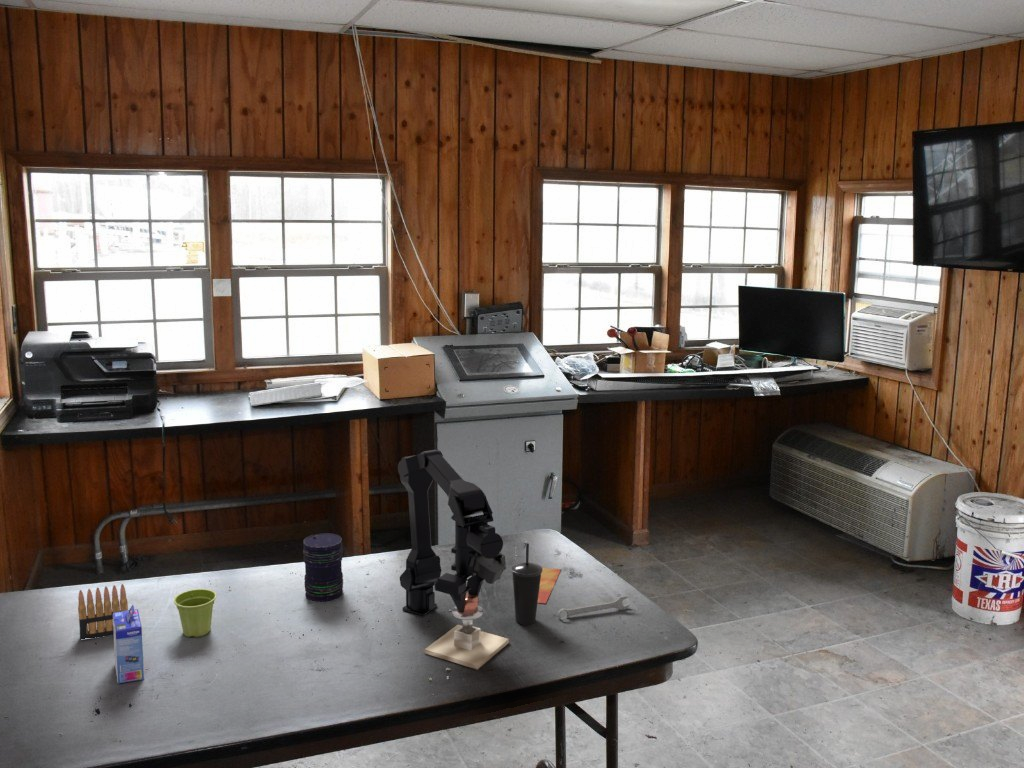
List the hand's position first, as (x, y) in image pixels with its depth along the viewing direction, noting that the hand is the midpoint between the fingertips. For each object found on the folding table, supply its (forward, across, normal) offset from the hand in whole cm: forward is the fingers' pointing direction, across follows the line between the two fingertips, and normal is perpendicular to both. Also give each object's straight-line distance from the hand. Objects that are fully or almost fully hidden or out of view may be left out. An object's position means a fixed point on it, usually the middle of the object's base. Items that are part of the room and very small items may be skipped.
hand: (467, 608), depth 200 cm
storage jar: (+10, +5, +47) cm, 48 cm away
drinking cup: (+10, +19, -5) cm, 22 cm away
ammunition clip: (+10, -38, +76) cm, 86 cm away
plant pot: (+10, -26, +59) cm, 65 cm away
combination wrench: (+10, +31, -18) cm, 38 cm away
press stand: (+10, 0, 0) cm, 10 cm away
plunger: (+5, 0, 0) cm, 5 cm away
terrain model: (+10, +37, +10) cm, 40 cm away
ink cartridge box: (+10, -46, +57) cm, 74 cm away
